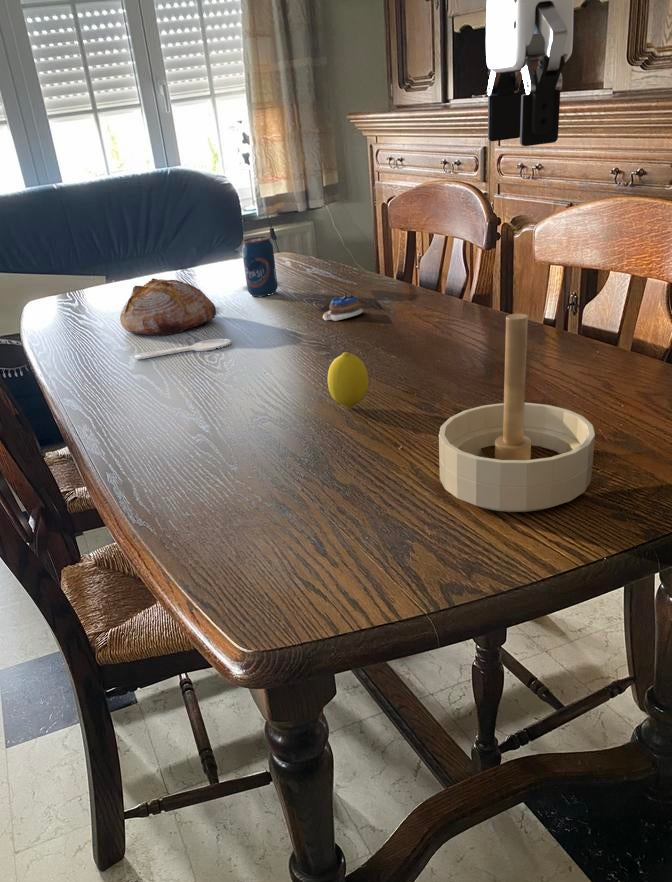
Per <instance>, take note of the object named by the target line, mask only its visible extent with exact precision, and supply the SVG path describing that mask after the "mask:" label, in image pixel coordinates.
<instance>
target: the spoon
mask: <svg viewBox="0 0 672 882" xmlns="http://www.w3.org/2000/svg"><path fill="white" fill-rule="evenodd" d="M230 343H231V344H232V340H231V339H229V338H211V339H204V340H200V341H198V342H195V343H193V344H191V345H186V346H179V347H176V348H175V347H172V348H165V349H158V350H156V349H155V350H153V351H152V350H151V351H148V352H147V351H146V352H141V353H135V354H134V355H133V359H134V360H144V359H149V358H155V357H161V356H167V355H171V354H178V353H182V352H187V351H196V352H205V351H212V350H217V349H216V348H218V349H221V348H224V347H223V346H225V347H227V346H229V345H231V344H230ZM228 344H229V345H228ZM226 345H227V346H226ZM220 347H221V348H220Z"/></svg>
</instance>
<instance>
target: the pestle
mask: <svg viewBox="0 0 672 882" xmlns="http://www.w3.org/2000/svg"><path fill="white" fill-rule="evenodd" d="M528 323H529V315H528V314H526V313H511V314H507V315H506V316H505V340H504V341H505V343H504V344H505V345H504V347H505V348H504V381H503V383H504V386H503V390H504V391H503V403H504V421H503V436H500V437H498V438H497V439H496V440H495V445H494V459H498V460H531V457H532V456H531V455H532V445H531V440H530V438H528V437H526V436H523V431H524V406H525V403H526V378H527V377H526V376H527V356H528V355H527V352H528V326H529V325H528Z"/></svg>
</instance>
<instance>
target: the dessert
mask: <svg viewBox="0 0 672 882" xmlns="http://www.w3.org/2000/svg"><path fill="white" fill-rule="evenodd" d="M328 305H329V310H327V311H325V312H324V313H323V315H322V319H323V320H324V321H334V322H337V321H340V320H344V319H348V318H352V317H355V316H358V315H361V314H362V313H364V310H363V308H361V306H360V300H359V299H358V298H357V297H356V296H354V295H352V294H351V295H349V296H348V295H347V294H344V295H343V297H338V296H336V297H332V298H331V301H330V302H329V304H328Z"/></svg>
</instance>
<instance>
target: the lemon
mask: <svg viewBox="0 0 672 882" xmlns="http://www.w3.org/2000/svg"><path fill="white" fill-rule="evenodd" d="M369 382H370V381H369V374H368V370H367V367H366V365H365V363H364V361H363V360H362V359H361V358H360V357H358V356H357V355H355V354H351V353H349V352H347V351H345V352H342V354H341V355H339V356H337V357H336V358H334V360H333V361H332V362H331V364H330V365H329V368H328V372H327V387H328V391H329V393H330V396H331V398H332V400H334V401H335V403H338V404H339V405H342V406H344V407H345V408H347V409H348V410H349V409H350V410H351V409H353V408H354V407H355V406H356V405H357V404H359V403H361V402H362V401H363V400H364V399H365V397H366V395H367V393H368V390H369Z"/></svg>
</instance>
